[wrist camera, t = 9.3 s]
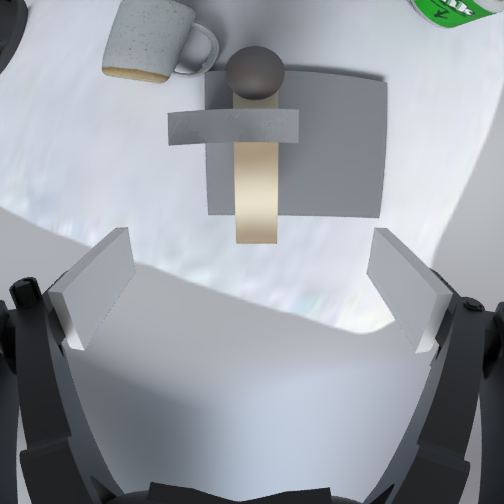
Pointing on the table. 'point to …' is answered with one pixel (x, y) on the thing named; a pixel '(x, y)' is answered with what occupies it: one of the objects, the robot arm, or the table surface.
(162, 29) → the ceramic mug
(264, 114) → the block
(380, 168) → the board
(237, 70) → the lever link
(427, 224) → the table surface
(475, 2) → the soda can
